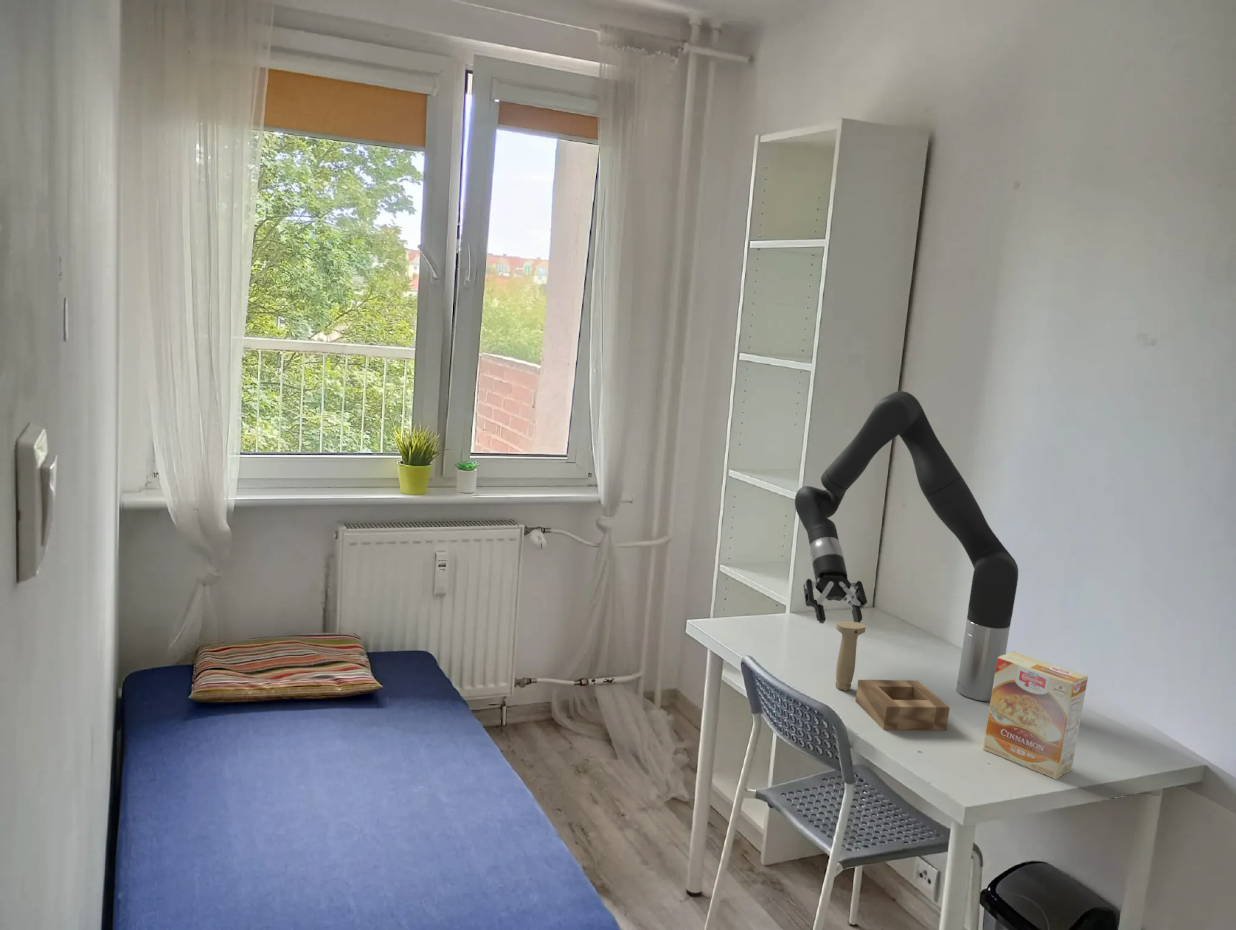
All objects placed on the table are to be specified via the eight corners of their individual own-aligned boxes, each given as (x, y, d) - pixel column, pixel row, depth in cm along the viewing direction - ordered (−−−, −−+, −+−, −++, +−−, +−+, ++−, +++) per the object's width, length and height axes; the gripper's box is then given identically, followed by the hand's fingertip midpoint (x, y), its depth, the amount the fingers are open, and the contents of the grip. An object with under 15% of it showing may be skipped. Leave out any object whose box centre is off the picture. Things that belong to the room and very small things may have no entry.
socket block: (914, 701, 213) (917, 680, 212) (946, 730, 199) (949, 707, 199) (855, 701, 210) (858, 679, 210) (883, 729, 197) (886, 706, 196)
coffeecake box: (981, 749, 192) (996, 656, 188) (998, 740, 196) (1013, 649, 193) (1056, 780, 181) (1073, 682, 178) (1072, 770, 186) (1089, 675, 182)
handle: (860, 692, 216) (869, 628, 213) (834, 692, 214) (843, 628, 212) (850, 683, 220) (858, 621, 218) (825, 684, 219) (833, 621, 216)
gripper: (804, 551, 226) (816, 614, 216) (861, 553, 228) (876, 616, 219) (794, 567, 232) (805, 628, 222) (850, 569, 234) (863, 630, 225)
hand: (840, 622), depth 221 cm, fingers open, 8 cm apart
